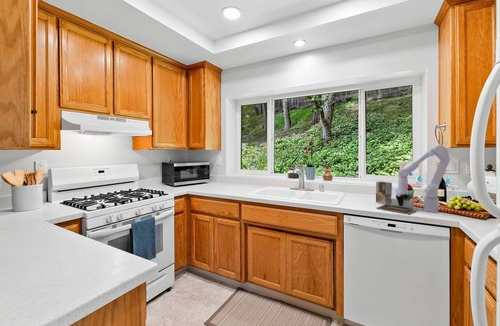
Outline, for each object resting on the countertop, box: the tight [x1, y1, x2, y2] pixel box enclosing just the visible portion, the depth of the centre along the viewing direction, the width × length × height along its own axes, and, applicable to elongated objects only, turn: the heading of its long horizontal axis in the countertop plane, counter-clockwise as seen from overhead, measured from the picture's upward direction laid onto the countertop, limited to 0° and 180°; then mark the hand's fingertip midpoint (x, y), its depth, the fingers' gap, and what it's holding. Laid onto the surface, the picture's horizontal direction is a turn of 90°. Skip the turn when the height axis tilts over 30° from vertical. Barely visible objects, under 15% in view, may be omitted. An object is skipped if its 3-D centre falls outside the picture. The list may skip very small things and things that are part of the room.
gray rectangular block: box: [391, 197, 414, 210], centre depth 170 cm, size 5×12×7 cm, turn 37°
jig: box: [376, 204, 417, 215], centre depth 164 cm, size 13×20×2 cm, turn 37°
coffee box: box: [375, 181, 393, 205], centre depth 185 cm, size 9×6×16 cm
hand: (402, 205), depth 170 cm, fingers closed on gray rectangular block, 5 cm apart
